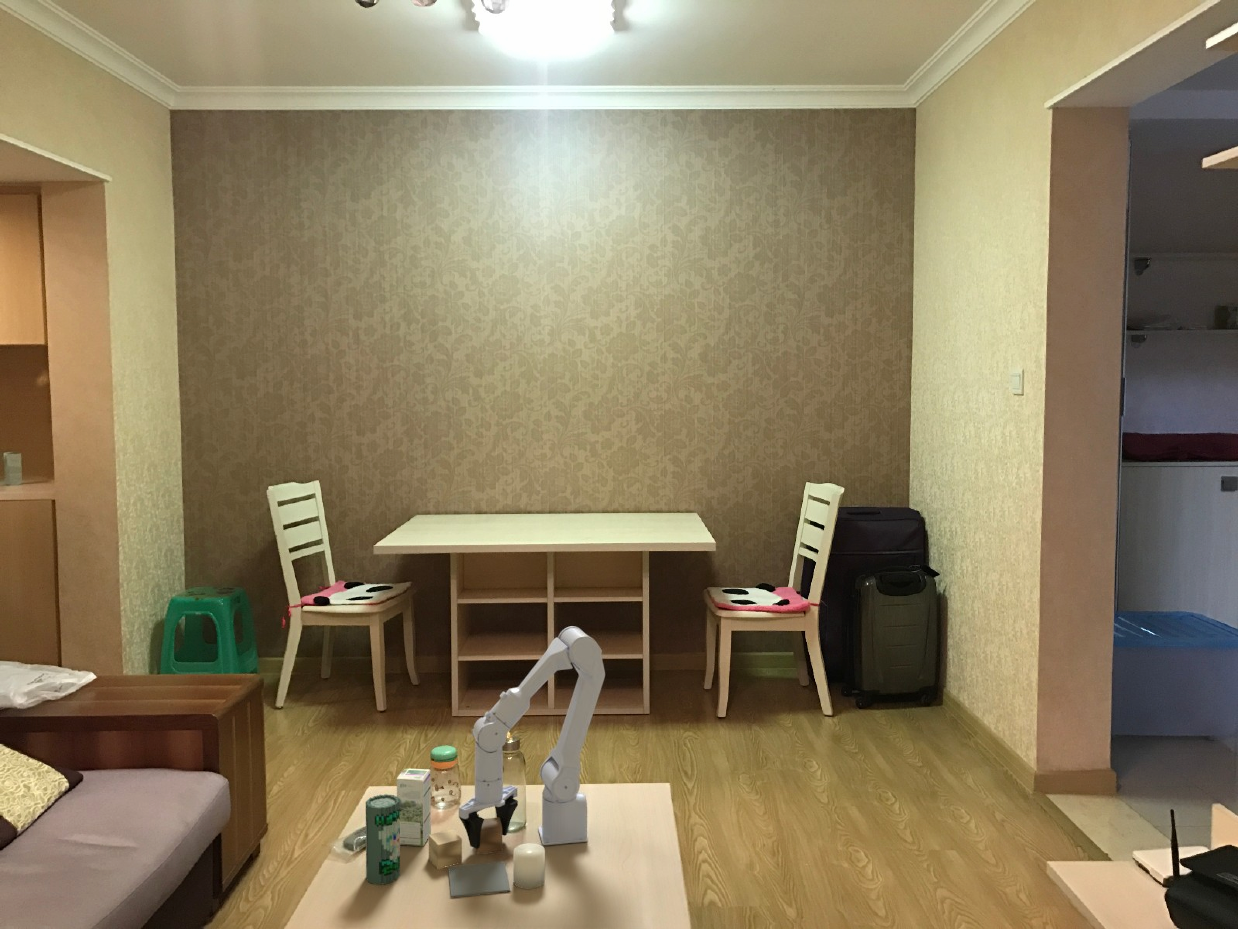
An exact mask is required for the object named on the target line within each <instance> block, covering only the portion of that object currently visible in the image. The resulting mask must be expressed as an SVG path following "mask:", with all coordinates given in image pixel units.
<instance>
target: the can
mask: <svg viewBox="0 0 1238 929" xmlns="http://www.w3.org/2000/svg"><path fill="white" fill-rule="evenodd" d="M365 870H366V871H365V880H366V881H367V882H368V883H370V884H373V885H379V886H381V885H387V884H390V883H393V882H396V881H397V880H398V879H399V877H400V876H401V845H400V799H398V798H397V795H393V794H386V793H385V794H377V795H373V796H372V797H369V798H368V799H367V800H366V801H365Z"/></svg>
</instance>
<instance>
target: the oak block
mask: <svg viewBox="0 0 1238 929" xmlns="http://www.w3.org/2000/svg"><path fill="white" fill-rule="evenodd" d="M428 859H429V861H430V860H431V861H432V862H433V863H434V864H433V863H432V862H431V861H430V862H431V863H432V864H433V865H434V866H435V867H436V869H437V870H441V869H444V868H443V867H445V866H448V867H451V866H450V865H452V866H454V865H453V864H455V865H458V864H457V863H459V864H462V863H463V839H462V837H461V836H460V835H458V833H456V831H455V830H454V829H452V828H451V829H448V830H443V831H440V832H435V833H431V834H430V835H429V838H428ZM461 862H462V863H461ZM440 868H441V869H440ZM445 868H446V867H445Z"/></svg>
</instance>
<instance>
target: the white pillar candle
mask: <svg viewBox="0 0 1238 929" xmlns="http://www.w3.org/2000/svg"><path fill="white" fill-rule="evenodd" d="M545 859H546V849H545V847H544V845H541V844H538V843H530V842H527V843H522V844H519V845H517V846H515V848H513V866H512V867H513V881H514V882H513V884H514V883H515V884H516V885H517V886H516V885H515V884H514V885H515V886H516V887H518V886H519V887H518V888H520V887H522V888H521V889H525V888H528V889H529V890H530V889H537V888H539V887H541V886H543V884H544V883H545V880H546V877H545V876H546V874H545V870H546V864H545V863H546V860H545ZM538 886H539V887H538ZM528 889H527V890H528Z"/></svg>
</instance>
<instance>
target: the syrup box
mask: <svg viewBox="0 0 1238 929" xmlns="http://www.w3.org/2000/svg"><path fill="white" fill-rule="evenodd" d="M431 772H432V771H431V769H427V768H426V769H423V768H422V769H421V768H404V769H403V770H402V771H401V772H400V774H398V776H397V778H396V796H397V798H398V799H400V846H410V847H411V846H412V847H424V845H425V844H426V843H427V841H428V840H429V835H430V834H432V823H431V822H432V821H431V819H432V818H431V813H432V812H431V809H432V808H431V805H432V803H431V796H432V794H431V792H432V791H431V787H432V786H431V784H432V783H431V781H432V780H431V777H432V776H431V775H432V774H431ZM427 839H428V840H427ZM425 842H426V843H425Z"/></svg>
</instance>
